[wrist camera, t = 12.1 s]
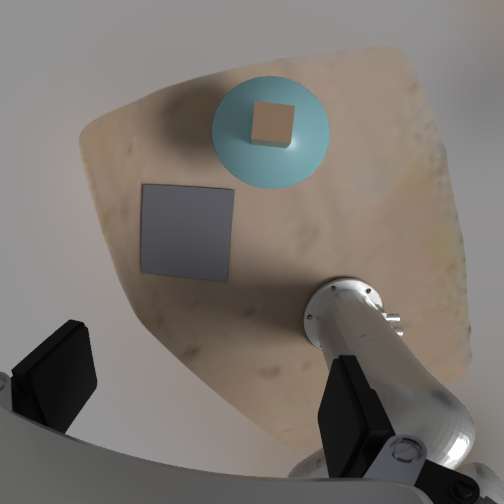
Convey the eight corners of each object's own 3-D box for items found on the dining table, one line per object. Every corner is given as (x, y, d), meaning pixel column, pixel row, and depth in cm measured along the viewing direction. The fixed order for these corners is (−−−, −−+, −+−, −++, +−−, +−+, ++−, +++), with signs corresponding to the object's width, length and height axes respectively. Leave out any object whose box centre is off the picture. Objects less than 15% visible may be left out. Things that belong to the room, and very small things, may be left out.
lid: (332, 87, 29) (346, 70, 23) (321, 195, 32) (334, 199, 26) (220, 74, 29) (212, 55, 23) (207, 182, 32) (196, 183, 26)
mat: (234, 190, 42) (234, 190, 41) (227, 281, 45) (226, 282, 44) (144, 184, 42) (143, 184, 41) (142, 271, 45) (141, 272, 44)
